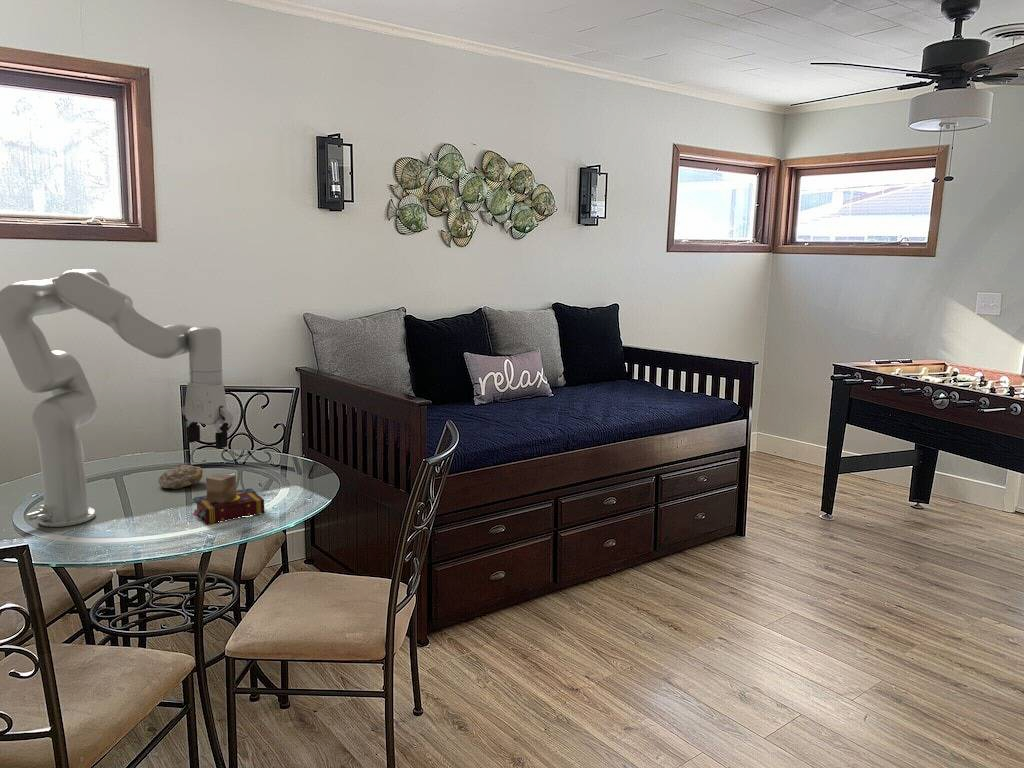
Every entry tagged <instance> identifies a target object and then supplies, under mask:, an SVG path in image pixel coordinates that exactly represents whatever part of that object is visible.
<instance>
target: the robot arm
mask: <svg viewBox="0 0 1024 768" xmlns="http://www.w3.org/2000/svg"><path fill="white" fill-rule="evenodd" d="M110 285H111V284H110V282H109V280H108V278H107V277H106V276H105V275H104V274H103V273H102V272H100V271H97V270H96V269H91V268H85V269H83V268H82V269H72V270H70V269H69V270H67V271H64V272H63V273H61V274H60V275H59V276H58V277H53V278H49V279H41V280H40V279H39V280H26V281H25V280H24V281H18V282H17V281H16V282H12V283H11V284H8V285H7V286H5V287H3V288H2V289H0V337H1V339H2V342H3V343H4V345H5V347H6V349H7V352H8V356H9V358H10V360H11V361H12V364H13V366H14V369H15V371H16V373H17V375H18V377H19V379H20V381H21V384H22V385H23V387H24V388H25V389H26V390H27V391H28V392H30V393H34V394H38V395H39V394H45V393H49V392H51V393H52V396H49V397H47V398H45V399H44V400H42V401H40V402H39V403H38V404H37V405H36V407H35V408H34V410H33V413H32V415H31V416H32V417H31V421H32V426H33V429H34V433H35V436H36V439H37V441H36V442H37V446H38V454H39V461H40V462H39V463H40V471H41V482H42V495H43V504H40V505H39V508H38V509H37V510H36V511H31V512H28V513H25V514H24V520H25V522H31V521H35V520H37V521H38V524H39V525H41V526H44V527H48V526H49V527H51V528H52V527H53V528H57V527H58V528H61V527H69V526H74V525H75V526H76V525H79V524H83V523H86V522H89V521H90V520H92V519H94V518H95V516H96V510H95V508H93V507H89V506H88V504H89V503H88V491H87V490H88V489H87V480H86V479H87V477H86V467H85V454H84V446H83V443H82V439H81V437H80V435H79V433H78V432H79V431H78V428H81V427H84V426H85V425H88V424H89V423H91V422H92V421H93V420H94V419H95V417H96V415H97V412H98V404H97V400H96V398H95V395H94V393H93V390H92V388H91V386H90V384H89V382H88V379H87V377H86V375H85V373H84V370H83V367H82V365H81V363H80V362H79V360H77V359H76V357H75V356H73V355H72V354H71V353H68V352H67V351H64V350H52V349H51V346H50V345H49V344H48V341H47V338H46V337H45V335H44V333H43V331H42V330H41V328H40V327H39V326H38V325H37V324H36V323H35V322H34V320H33V318H34V317H37V316H43V315H44V316H45V315H52V314H56V313H61V312H64V311H69V310H73V309H76V310H78V311H80V312H82V313H84V314H86V315H88V316H89V317H91V318H94V319H96V320H97V321H99V322H101V323H103V324H105V325H107V326H108V327H110V328H111V329H112V330H113V332H114V333H115V334H117V335H118V336H119V338H121V339H122V340H123V341H124V342H125V343H127V344H129V346H132V347H134V348H135V349H137V350H139V351H141V352H143V353H145V354H147V355H149V356H151V357H154V358H156V359H161V360H167V359H171V358H174V357H176V356H177V357H178V356H182V355H185V354H188V362H189V364H188V365H189V368H188V369H189V372H188V375H189V381H188V382H187V385H186V390H185V400H184V401H185V402H184V406H182V407H181V408H180V411H181V413H182V418H183V420H184V421H185V426H186V428H187V443H191V444H192V443H195V442H199V441H200V440H201V430H200V429H201V427H200V425H199V424H201V425H207V426H213V427H214V428H215V431H216V432H215V436H214V437H215V448H216V449H217V450H218V449H223V448H226V447H228V445H229V444H228V432H229V431H230V428H231V427H232V426H233V425H232V423H233V421H234V420H235V419H234V418H235V416H234V415H233V414H232V413H231V412H230V411H229V410H227V409H228V408H227V397H226V391H225V385H224V383H223V359H222V358H223V356H222V355H223V352H222V351H223V350H222V348H223V347H222V346H223V345H222V344H223V342H222V332H221V330H220V329H219V328H218V327H215V326H191V325H187V324H182V323H181V324H180V323H178V324H177V323H176V324H169V325H166V326H161V325H159V324H157V323H155V322H153V321H151V320H149V319H148V318H146V317H145V316H143V315H142V314H140V313H139V312H138V311H137V310H136V309H135V308H134V306H133V305H134V303H133V300H132V298H131V297H130V296H129V295H127V294H125V293H123V292H121V291H120V290H117V289H115V288H113V287H111V286H110Z"/></svg>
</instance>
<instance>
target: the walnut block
mask: <svg viewBox="0 0 1024 768" xmlns="http://www.w3.org/2000/svg"><path fill="white" fill-rule="evenodd" d="M236 481H237V480H236V475H234V474H230V473H224V472H219V473H216V474H214V475H210V476H207V477H205V482H206V484H205V485H206V496H207V500H208V501H213V502H218V503H224V502H227V501H230V500H232V499H235V498H236V491H237V483H236Z"/></svg>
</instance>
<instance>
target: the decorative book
mask: <svg viewBox="0 0 1024 768" xmlns="http://www.w3.org/2000/svg"><path fill="white" fill-rule="evenodd" d="M193 501H194V502H195V503H196V509H193V510H194V512H193V513H192V516H195V517H196V516H197V517H199V518H200V519H201V520H202V521H203V522H204V523H205V525H209V524H208V523H211V524H215V523H214V522H216V523H219V522H220V521H225V520H227V521H229V520H228V519H233V518H238V517H242V516H250V515H254V514H260V513H265V512H266V511H265V499H264V498H263V497H261V496H260V495H259V494H257V492H256V490H254V489H253V488H252V487H249V488H244V489H238V490H237V489H236V498H235V499H232V500H230V501H227V502H224V503H218V502H213V501H208V500H207V495H202V496H200V495H199V496H195V497H193ZM265 514H266V513H265ZM260 515H261V514H260ZM238 519H239V518H238ZM233 520H234V519H233ZM218 521H219V522H218Z"/></svg>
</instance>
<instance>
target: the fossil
mask: <svg viewBox="0 0 1024 768" xmlns="http://www.w3.org/2000/svg"><path fill="white" fill-rule="evenodd" d="M202 478H203V469H202V466H201V467H200V466H198V465H196V466H195V465H192V464H185V463H182V464H181V463H178V464H176V467H174V468H171V469H169V470H167V471H165V472H163V473H162V474H161V475H160V476H159V477H158V479H157V480H158V481H157V482H158V484H159V485H160V487H162V488H165V489H172V490H178V489H182V488H184V487H188V486H191V485H198V483H199V482H200V481H201V480H202Z"/></svg>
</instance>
